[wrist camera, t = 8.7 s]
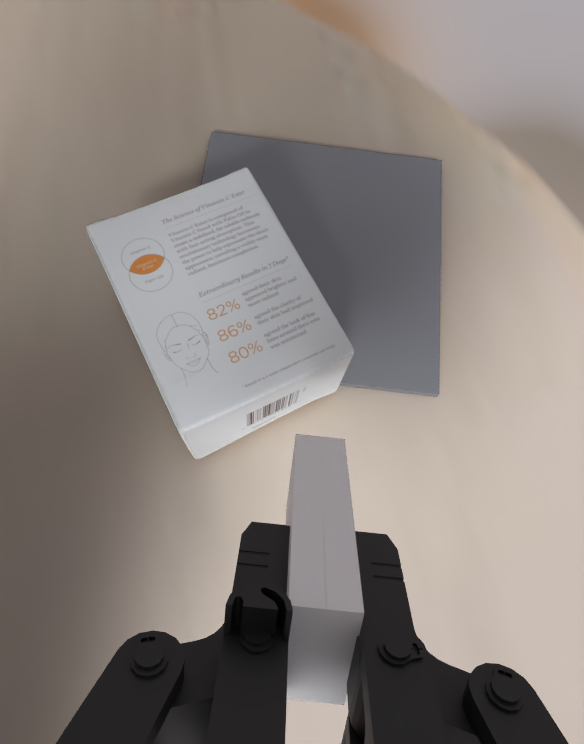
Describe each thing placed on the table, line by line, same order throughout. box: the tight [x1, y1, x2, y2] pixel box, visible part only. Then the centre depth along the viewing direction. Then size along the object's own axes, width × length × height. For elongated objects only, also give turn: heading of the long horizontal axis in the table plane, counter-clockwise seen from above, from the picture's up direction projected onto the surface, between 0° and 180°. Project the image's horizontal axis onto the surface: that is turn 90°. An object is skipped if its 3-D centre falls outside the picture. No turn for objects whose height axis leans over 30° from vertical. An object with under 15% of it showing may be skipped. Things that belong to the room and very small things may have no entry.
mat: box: [201, 132, 442, 397], centre depth 31 cm, size 14×15×1 cm
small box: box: [86, 167, 354, 459], centre depth 26 cm, size 8×6×10 cm
